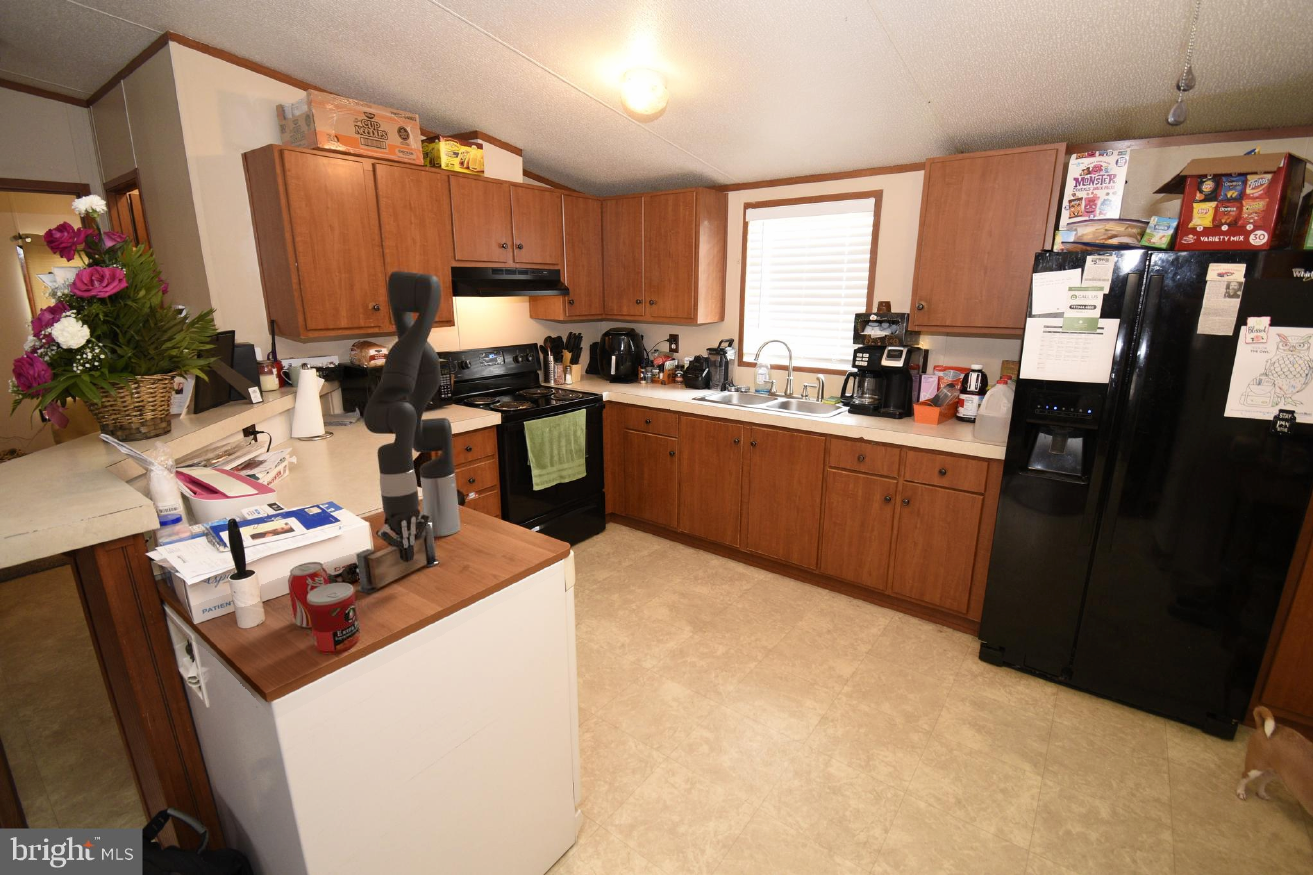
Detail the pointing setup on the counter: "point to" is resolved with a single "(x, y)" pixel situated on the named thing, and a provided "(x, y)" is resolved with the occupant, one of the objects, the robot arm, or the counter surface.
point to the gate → (394, 563)
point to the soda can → (305, 588)
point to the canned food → (333, 617)
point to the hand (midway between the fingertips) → (407, 560)
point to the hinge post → (429, 546)
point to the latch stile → (365, 572)
